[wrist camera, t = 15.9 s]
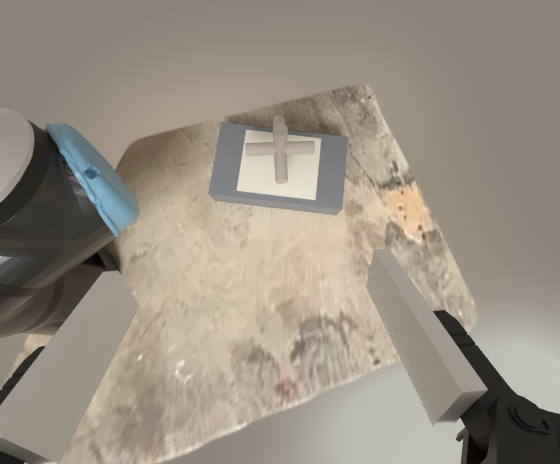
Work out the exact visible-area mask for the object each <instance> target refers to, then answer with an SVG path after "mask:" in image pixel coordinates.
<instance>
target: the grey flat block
mask: <svg viewBox="0 0 560 464" xmlns="http://www.w3.org/2000/svg"><path fill="white" fill-rule="evenodd" d="M347 139H348V137H344V136H336V135H327V134H319V133H310V132H302V131H293V130H288V133H287V142H289V141H315V152H314V154H293V155H287V172H288V182H287V183H284V184H278V183H276V182H275V165H274V155H265V156H246V152H245V143H261V142H274V140H273V128H267V127H259V126H250V125H242V124H233V123H225V122H221V128H220V133H219V139H218V144H217V150H216V155H215V161H214V166H213V172H212V178H211V183H210V189H209V194H210V195H211V197H212V198H213V199H214V200H215V201H222V202H230V203H239V204H247V205H256V206H264V207H272V208H281V209H289V210H297V211H306V212H314V213H322V214H331V215H337V214H338V213H339V212H340V211H341V210H342V203H343V190H344V177H345V164H346V151H347Z"/></svg>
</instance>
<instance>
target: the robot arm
mask: <svg viewBox="0 0 560 464" xmlns="http://www.w3.org/2000/svg"><path fill="white" fill-rule="evenodd" d="M46 126H47V127H46V129H45V130H43V129H41V128H39V127H38V126H36V125H35V124H33V123H32V122H30V121H29V120H27V119H26V118H24V117H23V116H22V115H20V114H18V113H17V112H15V111H12V110H9V109H3V108H0V338H2V337H6V336H10V335H14V334H18V333H30V334H41V335H51V336H53V338H52V339H51V340H50V341H49V343H48V344H47V345H46V346H41V347H39V348H38V349H36V350H35V351H34V352H33V353H32V354H31V355H29V356H28V357H27V358H26V359H25V360H24V361H23V362H22V363H21V365H20V366H19V367H18V368H17V370H16V371H15V372H14V373H13V374H12V375H13V376H12V377H11V378H9V379H8V381H7V382H6V383H5V384H4V386H3V387H2V390H0V464H24V462H26V463H29V464H59V463H60V461H61V459H62V457H63V455H64V453H65V451H66V449H67V447H68V445H69V443H70V441H71V439H72V437H73V435H74V433H75V431H76V429H77V427H78V426H79V424H80V422H81V420H82V418H83V416H84V414H85V412H86V410H87V408H88V406H89V404H90V402H91V400H92V398H93V396H94V394H95V392H96V390H97V388H98V386H99V384H100V382H101V380H102V378H103V376H104V374H105V372H106V370H107V368H108V366H109V364H110V362H111V360H112V358H113V357H114V355H115V353H116V351H117V349H118V347H119V345H120V343H121V341H122V339H123V337H124V335H125V333H126V331H127V329H128V327H129V325H130V323H131V321H132V319H133V317H134V315H135V313H136V311H137V309H138V307H139V305H138V303H137V301H136V300H135V298H134V296H133V294H132V293H131V291H130V289H129V288H128V286H127V284H126V283H125V281H124V279H123V278H122V276H121V274H120V273H119V271H118V269H117V266H116V263H115V261H114V259H113V257H112V256H111V255H110V253H109V252H108V251H107V250H105V249H104V248H103V247H104V246H105V245H106V244H108V243H109V242H111V241H112V240H113V239H115V238H116V237H118V236H120V234H121V232H122V231H123V230H125V229H126V228H127V227H128V226H129V225H130V224H131V223H133V222H134V221H135V220H136V218H137V217H138V215H139V205H138V202H137V200H136V198H135V197H134V195H133V194H132V192H131V191H130V189H129V188H128V186H127V185H126V184H125V182H124V181H123V180H122V179H121V177H120V176H119V175H118V174H117V172H116V171H115V170H114V169H113V168H112V167H111V165H110V164H109V163H108V162H107V161H106V160H105V159H104V157H102V155H101V154H100V153H99V152H98V151H97V150H96V149H95V148H94V147H93V146H92V145H91V144H90V143H89V142H88V141H87V140H86V139H85V138H84V137H83V136H82V135H81V134H80V133H79V132H78V131H76V130H75V129H74V128H72V127H70V126H69V125H67V124H66V123H63V122H57V123H55V124H48V125H46ZM366 288H367V290H368V292H369V294H370V296H371V298H372V300H373V302H374V304H375V306H376V308H377V311H378V313H379V315H380V317H381V319H382V321H383V323H384V325H385V327H386V329H387V331H388V333H389V336H390V338H391V340H392V342H393V344H394V346H395V348H396V350H397V352H398V354H399V356H400V358H401V361H402V363H403V364H404V367H405V369H406V371H407V373H408V375H409V377H410V379H411V381H412V383H413V386H414V388H415V390H416V392H417V394H418V396H419V398H420V400H421V402H422V404H423V406H424V408H425V410H426V413H427V415H428V417H429V419H430V421H431V423H432V425H433V426H438V425H448V424H454V423H455V422H456V421H457V420H458V419H459V418H461V420H462V422H463V423H464V425H465V428H464V429H463V430H462V431H461V432H460V433H458V435H457V438H456V440H457V441H459V442H460V441H461V440H462V439H463V447H462V458H461V464H560V414H557V413H553V412H549V411H545V410H543V409H540V408H538V407H537V406H536V405H535V404H534V403H532V402H531V401H529V400H527V399H526V398H524V397H522V396H519V395H517V394H516V393H515V392H514V391H513V390H512V389H511V388H510V387H509V386H508V385H507V383H506V382H505V381H504V380H503V378H502V377H501V376H500V374H499V373H498V372H497V371H496V369H495V368H494V367H493V365H492V364H491V363H490V362H489V360H488V359H487V358H486V356H485V355H484V354H483V353H482V351H481V350H480V349H479V347H478V346H476V345H475V342H474V341H473V340H472V338H471V337H470V336H469V335H467V332H466V331H465V329H464V328H463V327H462V325H461V324H460V323H459V322H458V320H456V319H455V318H454V317H453V316H451V315H450V314H449V313H448V312H446V311H445V310H441V311H432V309H431V308H430V307H429V305H428V304H427V302H426V301H425V300H424V298H423V297H422V295H421V294H420V292H419V291H418V290H417V288H416V287H415V285H414V284H413V283H412V281H411V280H410V278H409V277H408V275H407V274H406V273H405V271H404V270H403V268H402V267H401V265H400V264H399V263H398V261H397V260H396V258H395V257H394V256H393V254H392V253H391V251H390V250H389V249H380V250H374V253H373V258H372V262H371V267H370V271H369V275H368V280H367V284H366Z"/></svg>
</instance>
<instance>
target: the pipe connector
mask: <svg viewBox="0 0 560 464" xmlns="http://www.w3.org/2000/svg"><path fill="white" fill-rule="evenodd" d="M287 133H288V128H287V126H286V125H285V118H284V116H283V115H280V114H277V115H275V116H273V140H274V142H261V143H245V152H246V156H265V155H274V165H275V182H276V183H278V184H284V183H287V182H288V172H287V155H293V154H314V152H315V141H289V142H287Z"/></svg>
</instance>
